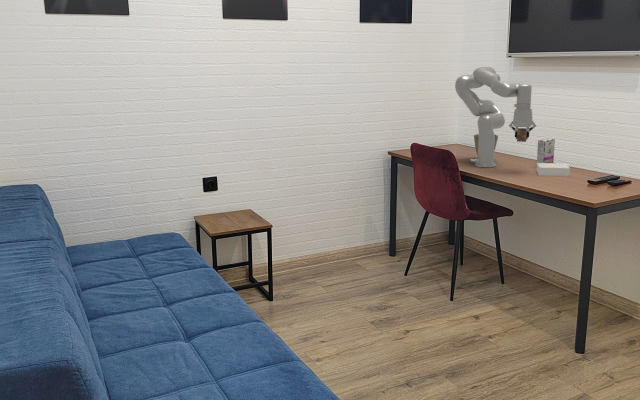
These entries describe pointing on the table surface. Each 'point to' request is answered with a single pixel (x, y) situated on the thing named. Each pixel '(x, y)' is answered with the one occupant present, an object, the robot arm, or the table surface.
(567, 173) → the riser block
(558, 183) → the table surface
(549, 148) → the candy bar box
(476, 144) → the plant pot
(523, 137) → the walnut block
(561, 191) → the table surface
